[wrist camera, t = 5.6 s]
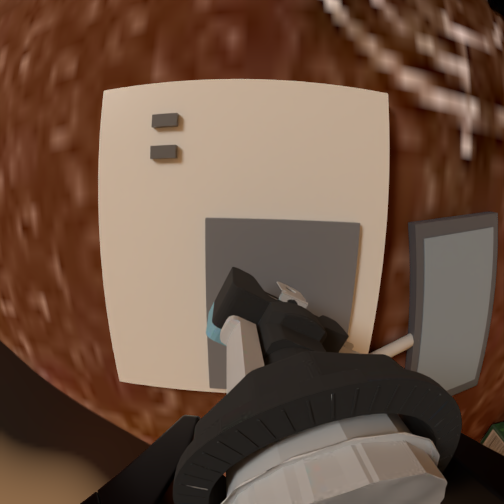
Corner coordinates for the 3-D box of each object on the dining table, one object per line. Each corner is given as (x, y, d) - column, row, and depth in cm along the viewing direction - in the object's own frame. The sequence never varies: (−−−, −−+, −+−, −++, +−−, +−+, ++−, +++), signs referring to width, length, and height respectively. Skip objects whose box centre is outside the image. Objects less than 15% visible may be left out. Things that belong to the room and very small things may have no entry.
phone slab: (489, 211, 15) (498, 213, 14) (471, 379, 17) (477, 385, 16) (408, 222, 15) (415, 224, 14) (400, 405, 17) (404, 413, 16)
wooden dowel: (438, 313, 16) (444, 318, 15) (440, 326, 16) (446, 331, 15) (233, 400, 17) (233, 408, 16) (240, 411, 17) (240, 419, 16)
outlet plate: (380, 98, 13) (390, 91, 12) (355, 380, 17) (361, 393, 15) (112, 95, 14) (101, 89, 12) (125, 372, 17) (117, 384, 16)
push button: (374, 298, 13) (542, 433, 3) (314, 391, 14) (391, 569, 4) (241, 228, 12) (293, 371, 2) (184, 340, 13) (131, 561, 3)
